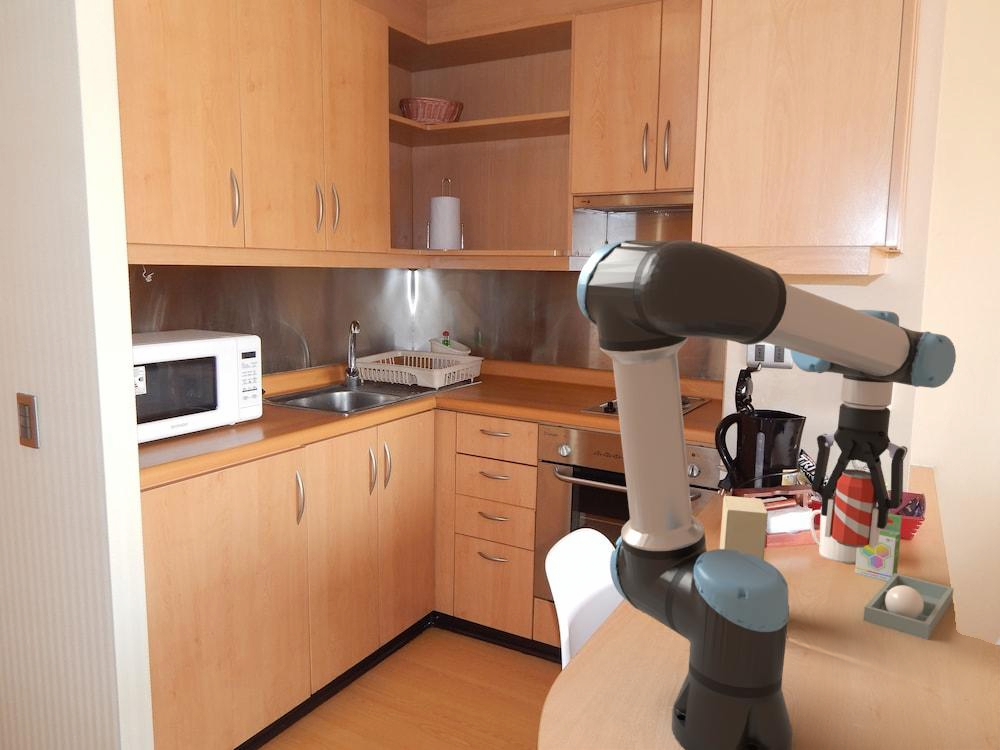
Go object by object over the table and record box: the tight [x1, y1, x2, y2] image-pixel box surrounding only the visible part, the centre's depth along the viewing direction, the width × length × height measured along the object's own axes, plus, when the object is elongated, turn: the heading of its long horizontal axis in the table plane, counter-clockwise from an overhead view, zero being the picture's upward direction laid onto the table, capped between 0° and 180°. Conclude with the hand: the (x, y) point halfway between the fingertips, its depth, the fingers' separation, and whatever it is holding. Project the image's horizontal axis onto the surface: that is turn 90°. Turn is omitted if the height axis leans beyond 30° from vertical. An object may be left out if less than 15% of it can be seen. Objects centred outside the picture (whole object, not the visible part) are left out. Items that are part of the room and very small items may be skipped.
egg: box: [885, 585, 924, 619], centre depth 135 cm, size 6×6×6 cm
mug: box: [809, 505, 857, 565], centre depth 166 cm, size 11×9×10 cm
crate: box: [862, 573, 955, 640], centre depth 139 cm, size 20×10×3 cm, turn 140°
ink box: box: [854, 513, 903, 583], centre depth 154 cm, size 7×4×13 cm, turn 50°
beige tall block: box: [719, 495, 769, 560], centre depth 134 cm, size 8×7×21 cm
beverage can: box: [831, 468, 878, 548], centre depth 130 cm, size 6×6×12 cm
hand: (851, 540), depth 131 cm, fingers closed on beverage can, 6 cm apart
